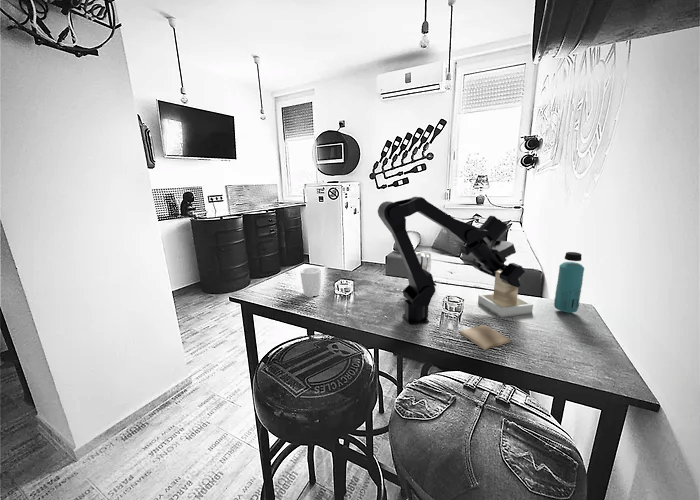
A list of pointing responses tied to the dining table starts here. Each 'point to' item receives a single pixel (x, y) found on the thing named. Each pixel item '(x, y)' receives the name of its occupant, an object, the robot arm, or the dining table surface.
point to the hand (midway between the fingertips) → (510, 282)
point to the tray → (519, 309)
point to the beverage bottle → (569, 284)
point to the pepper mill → (504, 292)
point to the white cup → (311, 281)
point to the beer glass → (424, 260)
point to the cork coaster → (485, 337)
